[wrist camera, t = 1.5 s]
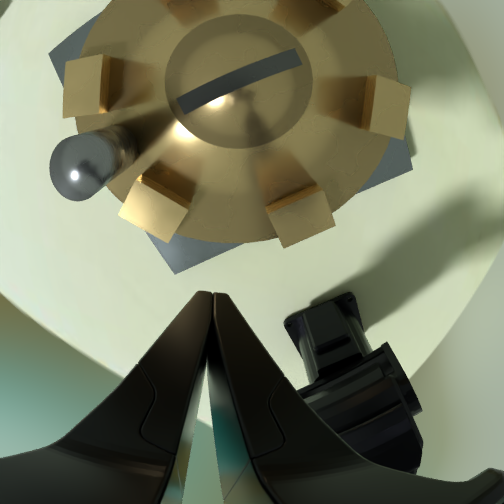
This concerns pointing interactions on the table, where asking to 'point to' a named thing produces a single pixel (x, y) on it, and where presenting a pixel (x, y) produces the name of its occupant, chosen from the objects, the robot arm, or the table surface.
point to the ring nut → (230, 114)
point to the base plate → (197, 251)
